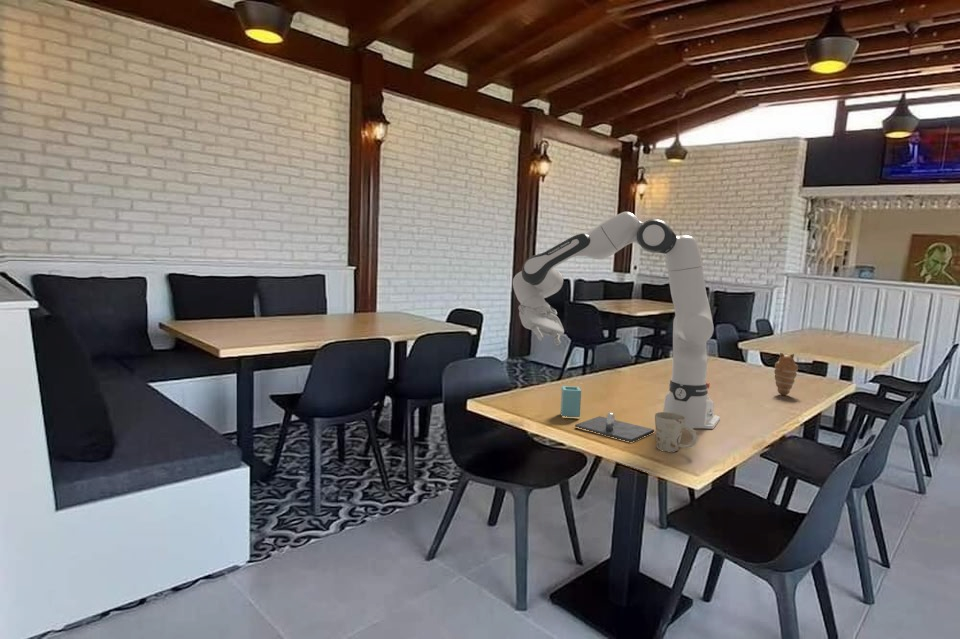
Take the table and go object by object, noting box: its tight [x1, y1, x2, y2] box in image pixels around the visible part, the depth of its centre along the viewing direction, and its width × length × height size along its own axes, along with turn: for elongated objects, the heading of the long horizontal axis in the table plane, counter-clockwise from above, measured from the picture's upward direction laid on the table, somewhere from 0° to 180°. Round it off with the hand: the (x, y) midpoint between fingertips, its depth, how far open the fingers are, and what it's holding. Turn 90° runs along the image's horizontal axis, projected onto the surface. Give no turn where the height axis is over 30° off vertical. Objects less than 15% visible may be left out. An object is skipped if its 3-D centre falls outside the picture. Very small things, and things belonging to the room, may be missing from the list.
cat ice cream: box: [774, 352, 799, 396], centre depth 245 cm, size 9×8×18 cm
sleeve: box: [560, 385, 582, 418], centre depth 202 cm, size 6×6×10 cm
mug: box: [654, 411, 698, 453], centre depth 169 cm, size 8×13×10 cm, turn 51°
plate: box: [574, 412, 655, 443], centre depth 187 cm, size 15×20×6 cm
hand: (549, 341), depth 200 cm, fingers open, 8 cm apart
